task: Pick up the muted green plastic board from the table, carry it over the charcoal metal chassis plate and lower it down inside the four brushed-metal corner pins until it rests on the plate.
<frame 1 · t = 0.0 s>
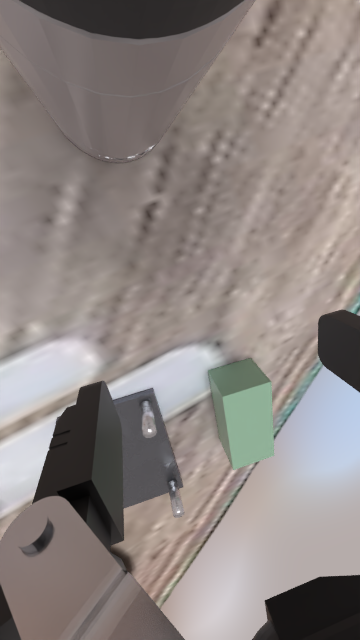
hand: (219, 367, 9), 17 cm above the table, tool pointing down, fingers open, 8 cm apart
board: (233, 399, 34), on the table
chassis: (128, 454, 34), on the table
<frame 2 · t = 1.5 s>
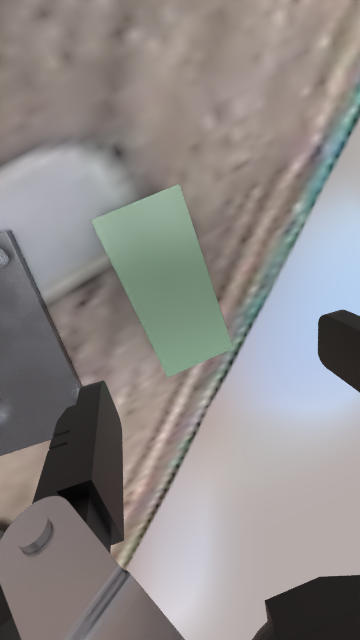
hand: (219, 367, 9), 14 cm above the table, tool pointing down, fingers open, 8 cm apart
board: (161, 277, 22), on the table
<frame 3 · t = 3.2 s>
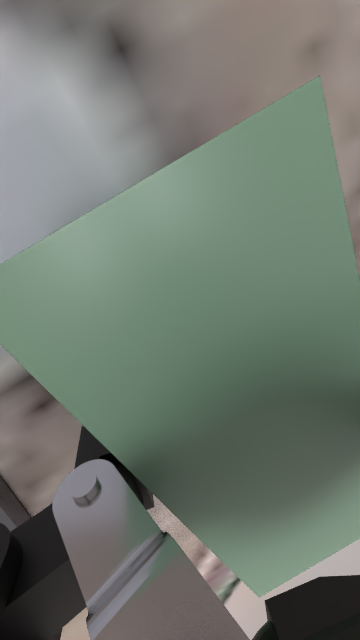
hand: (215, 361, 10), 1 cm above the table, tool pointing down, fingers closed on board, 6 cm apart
board: (207, 347, 10), on the table, touching gripper
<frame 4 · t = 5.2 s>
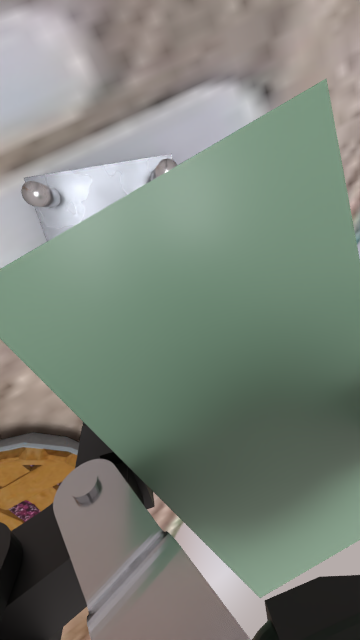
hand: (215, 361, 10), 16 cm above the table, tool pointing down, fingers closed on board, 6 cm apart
pie: (38, 491, 31), on the table
board: (209, 348, 10), point 15 cm above the table, touching gripper
chassis: (129, 278, 24), on the table
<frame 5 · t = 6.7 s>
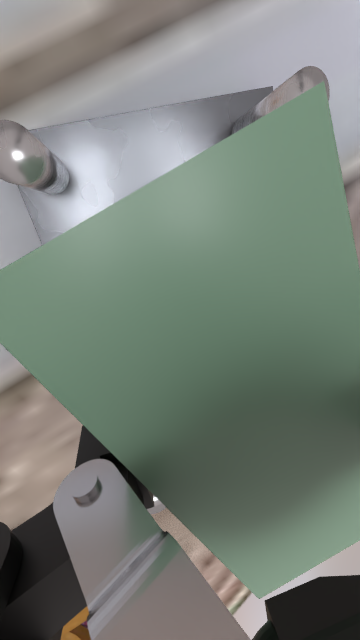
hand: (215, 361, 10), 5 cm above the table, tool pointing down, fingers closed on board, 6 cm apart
pie: (46, 602, 22), on the table
board: (208, 349, 10), point 5 cm above the table, touching gripper
chassis: (183, 311, 15), on the table
when the fingers open (3 cm above the table, at t = 7.7 s): board drops 1 cm, resting on chassis.
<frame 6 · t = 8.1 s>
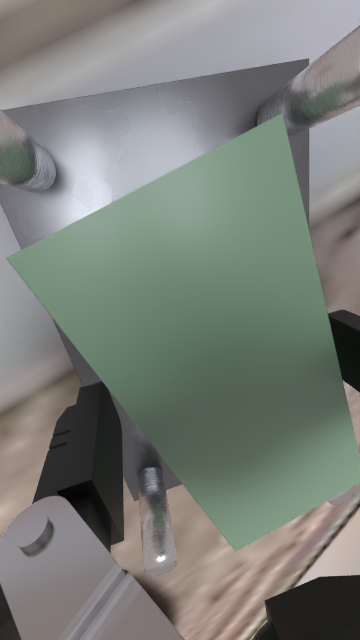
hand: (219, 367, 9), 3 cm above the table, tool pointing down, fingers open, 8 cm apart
board: (199, 333, 12), point 1 cm above the table, touching chassis
chassis: (194, 329, 12), on the table
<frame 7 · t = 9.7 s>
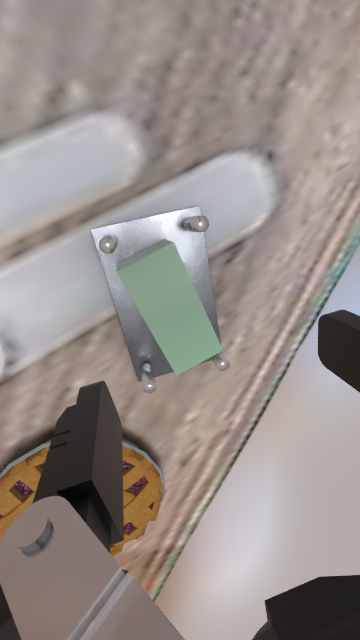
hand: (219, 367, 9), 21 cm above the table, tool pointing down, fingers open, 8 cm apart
pie: (84, 480, 37), on the table
board: (166, 300, 29), point 1 cm above the table, touching chassis
chassis: (165, 300, 30), on the table
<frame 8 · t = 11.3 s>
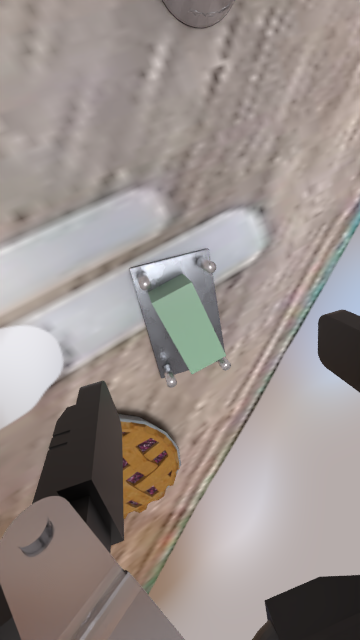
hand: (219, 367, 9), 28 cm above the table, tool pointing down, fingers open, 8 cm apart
pie: (117, 455, 47), on the table
board: (183, 317, 38), point 1 cm above the table, touching chassis
chassis: (182, 317, 39), on the table
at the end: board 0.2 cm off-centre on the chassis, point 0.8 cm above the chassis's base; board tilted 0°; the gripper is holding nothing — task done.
